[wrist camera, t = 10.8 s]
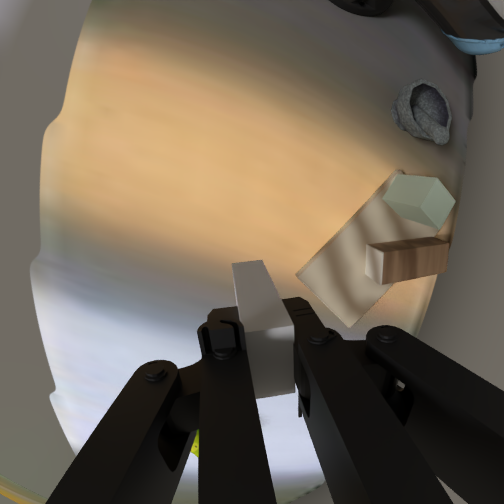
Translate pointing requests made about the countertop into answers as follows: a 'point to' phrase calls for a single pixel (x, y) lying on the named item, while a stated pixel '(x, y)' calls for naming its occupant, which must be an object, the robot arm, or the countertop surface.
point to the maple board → (357, 257)
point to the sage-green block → (420, 199)
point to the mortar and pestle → (423, 112)
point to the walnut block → (406, 259)
